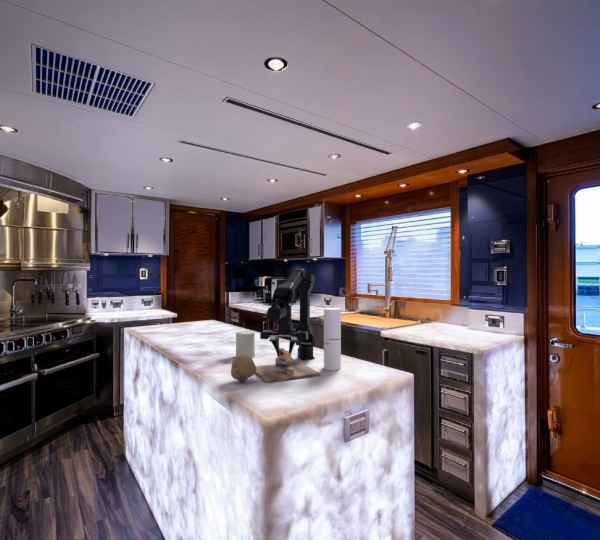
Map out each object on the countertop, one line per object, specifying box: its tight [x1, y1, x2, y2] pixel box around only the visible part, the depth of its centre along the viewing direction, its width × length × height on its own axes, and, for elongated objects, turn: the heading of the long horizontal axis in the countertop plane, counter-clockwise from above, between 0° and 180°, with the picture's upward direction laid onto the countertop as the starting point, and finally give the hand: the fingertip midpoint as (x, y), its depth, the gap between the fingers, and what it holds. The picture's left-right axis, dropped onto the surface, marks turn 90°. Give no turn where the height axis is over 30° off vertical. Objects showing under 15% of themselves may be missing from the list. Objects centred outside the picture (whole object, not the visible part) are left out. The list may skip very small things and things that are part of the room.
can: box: [235, 330, 256, 359], centre depth 171 cm, size 9×9×12 cm
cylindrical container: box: [323, 307, 342, 371], centre depth 150 cm, size 7×7×25 cm
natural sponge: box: [230, 354, 257, 383], centre depth 131 cm, size 9×9×10 cm
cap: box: [274, 347, 294, 367], centre depth 143 cm, size 9×7×6 cm
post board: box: [254, 361, 321, 384], centre depth 143 cm, size 22×20×3 cm
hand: (284, 356), depth 143 cm, fingers closed on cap, 4 cm apart
